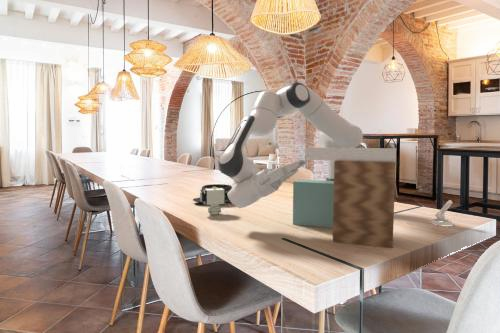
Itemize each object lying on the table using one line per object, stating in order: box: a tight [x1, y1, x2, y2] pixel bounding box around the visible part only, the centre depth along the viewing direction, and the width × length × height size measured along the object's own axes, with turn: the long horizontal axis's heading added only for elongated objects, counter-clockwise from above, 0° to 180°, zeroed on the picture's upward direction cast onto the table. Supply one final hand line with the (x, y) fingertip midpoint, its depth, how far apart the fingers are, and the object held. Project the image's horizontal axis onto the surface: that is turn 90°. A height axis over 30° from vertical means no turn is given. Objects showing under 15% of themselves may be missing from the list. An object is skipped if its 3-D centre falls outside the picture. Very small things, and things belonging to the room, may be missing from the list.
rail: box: [305, 146, 397, 163], centre depth 120 cm, size 28×4×4 cm, turn 68°
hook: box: [430, 199, 454, 226], centre depth 141 cm, size 8×12×7 cm
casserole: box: [192, 183, 233, 204], centre depth 189 cm, size 25×19×8 cm
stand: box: [332, 161, 397, 249], centre depth 120 cm, size 18×10×26 cm, turn 68°
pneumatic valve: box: [199, 187, 229, 216], centre depth 161 cm, size 6×12×12 cm, turn 108°
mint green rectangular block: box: [292, 179, 334, 229], centre depth 143 cm, size 17×8×16 cm, turn 69°
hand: (301, 162), depth 127 cm, fingers open, 8 cm apart
